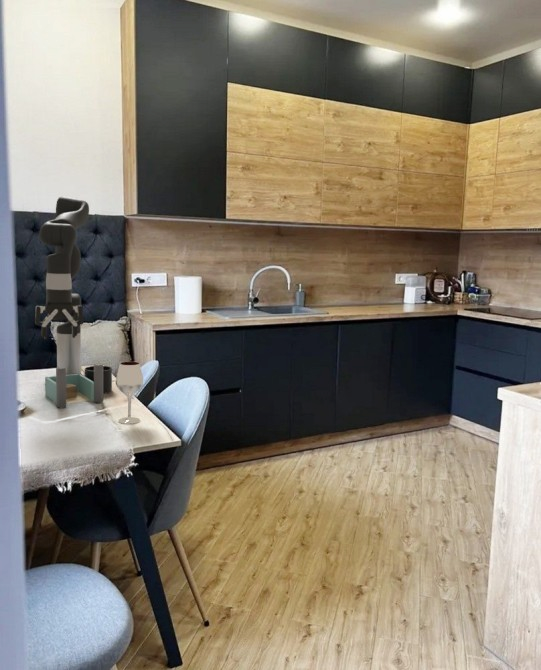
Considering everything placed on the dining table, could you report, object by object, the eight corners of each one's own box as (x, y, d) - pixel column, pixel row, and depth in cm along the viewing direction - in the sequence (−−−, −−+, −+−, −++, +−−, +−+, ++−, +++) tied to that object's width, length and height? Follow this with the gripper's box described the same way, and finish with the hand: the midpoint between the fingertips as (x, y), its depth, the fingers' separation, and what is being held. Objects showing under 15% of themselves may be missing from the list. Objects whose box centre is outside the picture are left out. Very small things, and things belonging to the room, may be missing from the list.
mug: (110, 387, 210) (110, 363, 209) (112, 395, 199) (112, 370, 198) (84, 388, 207) (83, 364, 206) (85, 396, 196) (84, 371, 194)
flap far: (98, 403, 185) (97, 366, 183) (88, 401, 187) (88, 364, 185) (105, 402, 187) (105, 364, 185) (95, 399, 190) (95, 362, 188)
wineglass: (132, 415, 176) (132, 359, 173) (148, 421, 171) (149, 363, 168) (110, 420, 169) (110, 363, 167) (126, 426, 164) (126, 367, 162)
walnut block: (59, 396, 192) (59, 385, 191) (70, 394, 195) (70, 383, 194) (66, 399, 189) (66, 387, 189) (76, 396, 192) (76, 385, 192)
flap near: (64, 403, 183) (64, 365, 181) (67, 407, 179) (66, 368, 177) (55, 404, 182) (54, 366, 180) (57, 408, 177) (56, 369, 175)
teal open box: (45, 396, 193) (45, 377, 192) (80, 392, 200) (79, 373, 199) (57, 406, 182) (57, 385, 181) (93, 401, 189) (93, 381, 188)
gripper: (80, 286, 182) (80, 335, 185) (33, 286, 175) (34, 336, 178) (84, 288, 176) (84, 339, 178) (35, 288, 169) (36, 340, 171)
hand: (59, 337), depth 178 cm, fingers open, 8 cm apart
